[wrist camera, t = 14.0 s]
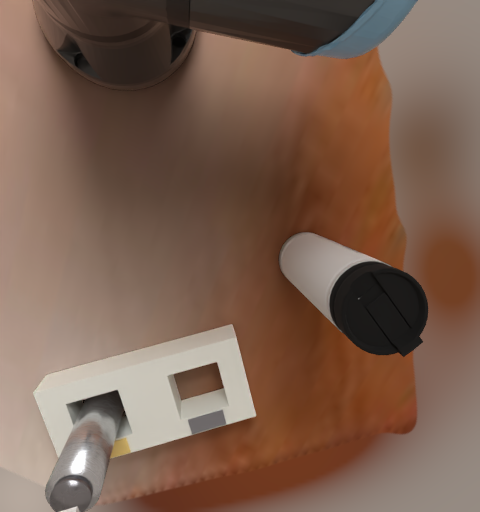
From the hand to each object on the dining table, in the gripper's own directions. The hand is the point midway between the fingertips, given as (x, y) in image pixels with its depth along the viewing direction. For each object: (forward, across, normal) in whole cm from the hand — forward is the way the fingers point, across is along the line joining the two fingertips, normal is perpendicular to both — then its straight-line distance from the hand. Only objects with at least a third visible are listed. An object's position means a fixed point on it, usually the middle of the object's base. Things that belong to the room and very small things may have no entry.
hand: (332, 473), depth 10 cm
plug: (+35, -18, -14) cm, 41 cm away
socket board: (+35, -12, -14) cm, 39 cm away
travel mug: (+35, +9, -4) cm, 36 cm away
